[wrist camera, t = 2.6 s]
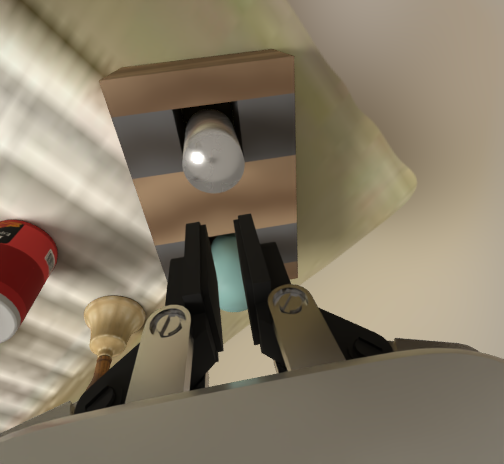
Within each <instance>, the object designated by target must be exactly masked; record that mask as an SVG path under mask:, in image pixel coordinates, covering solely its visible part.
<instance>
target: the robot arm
mask: <svg viewBox="0 0 504 464" xmlns="http://www.w3.org/2000/svg"><path fill="white" fill-rule="evenodd" d="M233 223H234V229H235V236H236V242H237V249H238V255H239V262H240V268H241V275H242V280H243V286H244V291H245V297H246V302H247V308H248V314H249V319H250V325H251V330H252V336H253V341H254V345H258V344H260V347H261V352H262V353H263V354H265V355H267V356H268V357H270V358H272V359H273V360H274V366H275V369H276V372H277V374H273V375H268V376H263V377H258V378H252V379H247V380H242V381H237V382H232V383H227V384H222V385H217V386H212V387H209V385H208V384H209V374H208V370H209V369H210V368H211V367H212V366H213V365H214V364H215V362H218V352H221V351H223V339H222V327H221V315H220V303H219V291H218V280H217V274H216V270H215V265H214V260H213V256H212V251H211V246H210V242H209V237H208V232H207V228H206V224H204V225H201V224H200V222H194V223H188V224H186V229H185V248H184V257H179V258H173V259H171V260H170V267H169V276H168V285H167V294H166V303H165V306H164V307H162V308H160V309H158V310H156V311H155V312H154V313H152V314H151V315H150V317H149V318H148V319H147V321H146V323H145V326H144V330H143V334H142V338H141V342H140V343H139V344H138V345H137V346H135V347H134V348H133V349H132V350H131V351H130V352H129V353H128V354H126V355H125V356H124V357H123V358H122V359H121V360H120V361H119V362H117V363H116V364H115V365H114V366H113V367H112V368H111V369H109V370H108V371H107V372H106V373H105V374H104V375H103V376H102V377H100V378H99V379H98V380H97V381H96V382H95V383H94V384H93V385H91V386H90V387H89V388H88V389H87V390H86V391H85V392H84V393H83V395H82V396H81V397H80V399H79V401H77V402H75V403H73V404H72V402H71V401H69V402H66V403H64V404H62V405H60V406H58V407H56V408H54V409H52V410H49V411H47V412H45V413H43V414H41V415H39V416H37V417H34V418H32V419H30V420H28V421H26V422H24V423H22V424H20V425H17V426H15V427H13V428H11V429H9V430H7V431H5V432H3V433H0V464H504V359H502V358H499V357H496V356H492V355H489V354H485V353H481V352H479V351H478V350H476V349H474V348H472V347H470V346H468V345H464V344H459V343H449V342H438V341H426V340H413V339H402V338H395V339H394V341H387V340H385V339H384V338H383V337H382V336H380V335H378V334H377V333H375V332H372V331H370V330H368V329H366V328H363V327H361V326H359V325H357V324H354V323H352V322H350V321H348V320H345V319H343V318H341V317H338V316H336V315H334V314H332V313H329V312H327V311H325V310H323V309H320V308H318V306H317V304H316V303H315V301H314V299H313V297H312V295H311V294H310V292H309V291H308V290H307V289H305V288H304V287H301V286H299V285H293V284H291V282H290V280H289V277H288V274H287V271H286V269H285V266H284V263H283V260H282V258H281V255H280V252H279V249H278V247H277V244H276V242H269V243H263V244H260V243H259V239H258V236H257V232H256V229H255V225H254V222H253V218H252V215H251V213H250V214H244V215H238V219H235V220H233Z"/></svg>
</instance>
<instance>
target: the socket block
mask: <svg viewBox="0 0 504 464" xmlns="http://www.w3.org/2000/svg"><path fill="white" fill-rule="evenodd" d="M99 83H100V86H101V89H102V92H103V95H104V97H105V100H106V103H107V106H108V109H109V112H110V115H111V118H112V121H113V124H114V127H115V130H116V133H117V136H118V138H119V141H120V144H121V147H122V150H123V153H124V156H125V159H126V162H127V165H128V168H129V171H130V174H131V177H132V180H133V182H134V185H135V188H136V191H137V194H138V197H139V200H140V203H141V206H142V209H143V212H144V215H145V218H146V221H147V223H148V226H149V229H150V232H151V235H152V238H153V241H154V244H155V247H156V250H157V253H158V256H159V259H160V262H161V264H162V267H163V270H164V273H165V276H166V279H167V282H168V276H169V267H170V260H171V259H173V258H179V257H184V248H185V229H186V224H188V223H194V222H200V224H201V225H204V224H206V228H207V232H208V237H209V242H210V246H211V244H212V242H213V240H214V239H215V238H216V237H217V236H219V235H223V234H230V233H235V229H234V223H233V220H235V219H238V215H244V214H250V213H251V215H252V218H253V222H254V225H255V229H256V232H257V236H258V239H259V243H260V244H263V243H269V242H276V244H277V247H278V249H279V252H280V255H281V258H282V260H283V263H284V266H285V269H286V271H287V274H288V277H289V280H290V279H295V278H298V260H297V199H296V137H295V75H294V56H292V55H289V54H286V53H283V52H280V51H277V50H274V49H268V50H260V51H252V52H244V53H235V54H227V55H219V56H211V57H203V58H195V59H187V60H179V61H171V62H163V63H155V64H146V65H138V66H130V67H122V68H120V69H118V70H116V71H115V72H113V73H111V74H110V75H108V76H106V77H104V78H103V79H101V80H99ZM224 102H231V108H232V115H233V123H234V131H235V134H236V136H237V139H238V142H239V145H240V148H241V150H242V153H243V156H244V161H245V167H244V172H243V175H242V177H241V179H240V180H239V182H238V183H237V184H236V185H235V186H234V187H232V188H231V189H229V190H227V191H225V192H221V193H206V192H203V191H200V190H198V189H197V188H195V187H194V186H193V185H191V184H190V182H189V181H188V180H187V178H186V176H185V174H184V171H183V166H182V161H183V151H184V141H185V131H186V129H185V124H184V120H183V115H182V110H181V108H186V107H194V106H201V105H209V104H216V103H224Z"/></svg>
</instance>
